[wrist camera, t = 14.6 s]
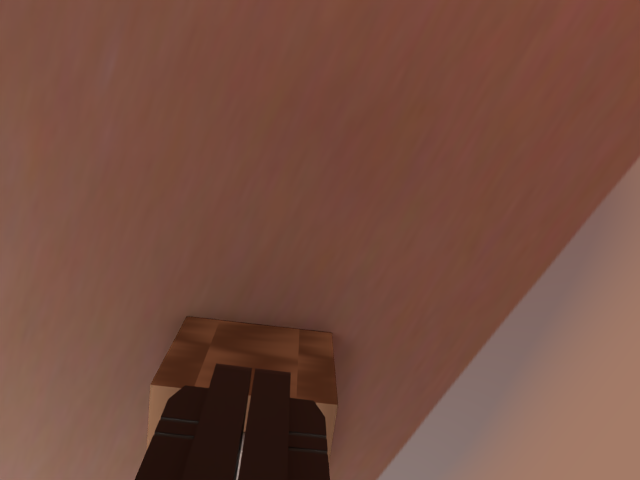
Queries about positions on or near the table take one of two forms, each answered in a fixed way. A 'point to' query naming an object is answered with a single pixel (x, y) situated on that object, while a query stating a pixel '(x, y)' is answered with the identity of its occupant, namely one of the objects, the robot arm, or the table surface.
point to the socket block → (247, 363)
